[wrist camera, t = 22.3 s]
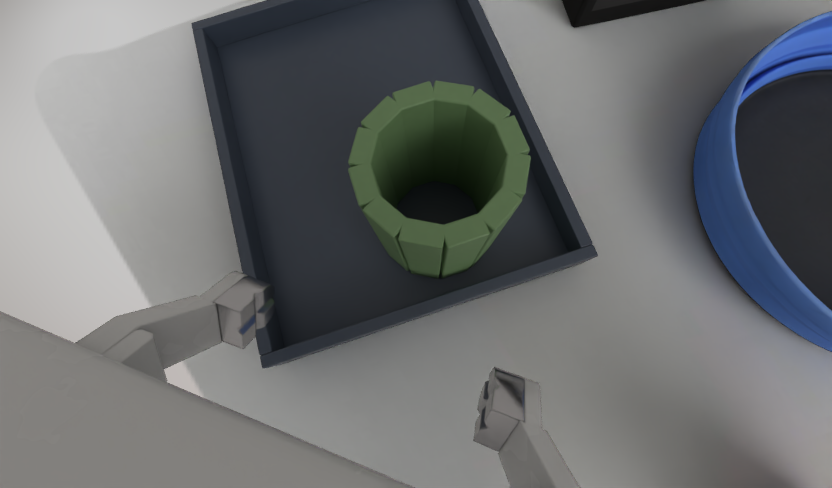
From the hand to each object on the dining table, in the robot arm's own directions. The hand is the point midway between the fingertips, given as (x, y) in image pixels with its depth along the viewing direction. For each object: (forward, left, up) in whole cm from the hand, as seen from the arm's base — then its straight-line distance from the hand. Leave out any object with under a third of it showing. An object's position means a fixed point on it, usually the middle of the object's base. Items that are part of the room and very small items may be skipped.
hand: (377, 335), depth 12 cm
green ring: (+5, -4, -5) cm, 8 cm away
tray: (+10, -2, -6) cm, 12 cm away
